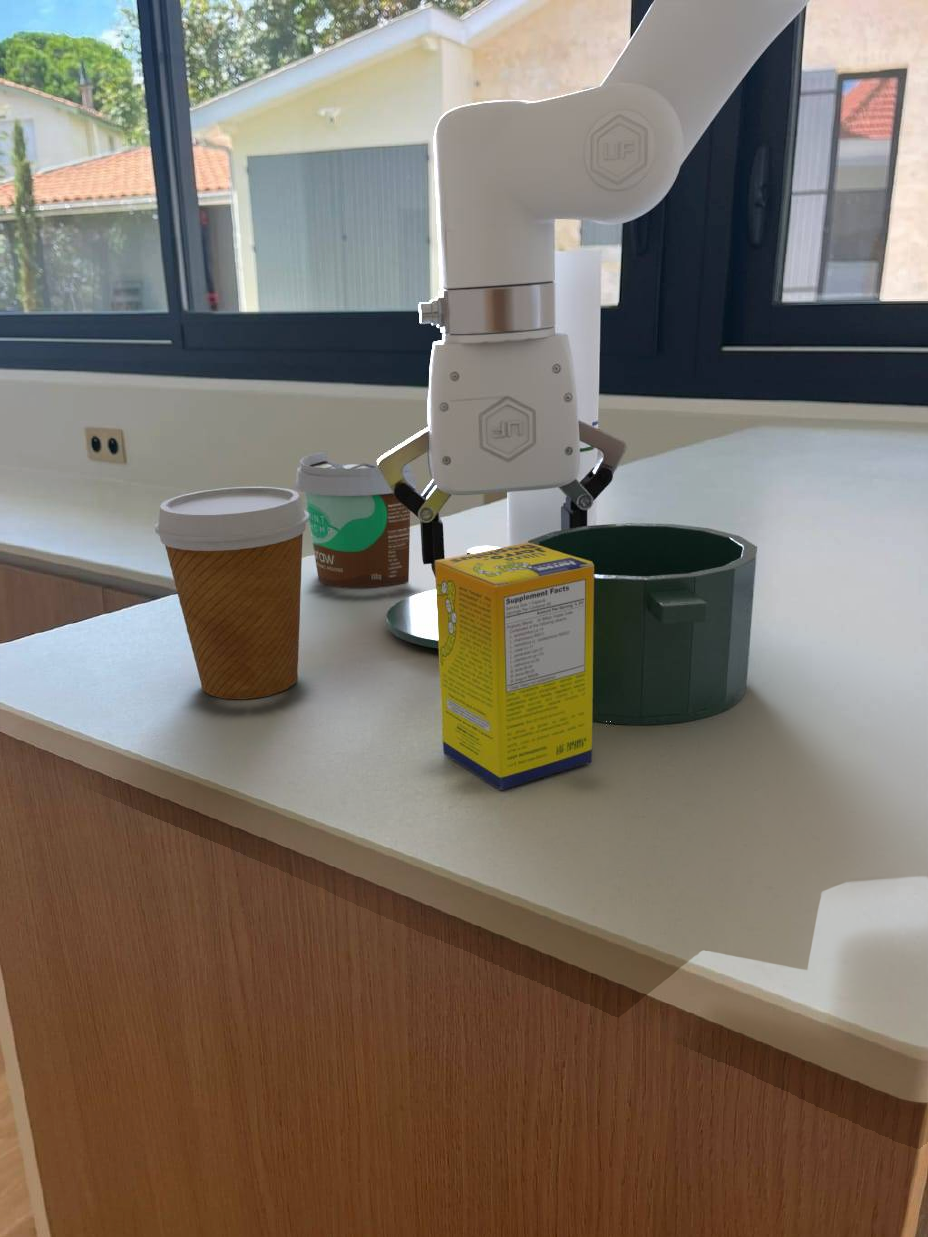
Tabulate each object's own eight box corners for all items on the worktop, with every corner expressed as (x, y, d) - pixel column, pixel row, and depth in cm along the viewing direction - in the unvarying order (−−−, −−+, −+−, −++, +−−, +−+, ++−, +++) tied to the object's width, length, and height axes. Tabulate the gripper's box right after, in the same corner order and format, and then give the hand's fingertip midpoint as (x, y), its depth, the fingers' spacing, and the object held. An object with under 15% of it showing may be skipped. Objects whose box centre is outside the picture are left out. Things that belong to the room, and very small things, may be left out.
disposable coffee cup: (352, 677, 72) (339, 494, 68) (236, 721, 66) (213, 523, 62) (261, 649, 79) (244, 479, 74) (148, 687, 73) (121, 505, 68)
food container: (275, 575, 98) (264, 461, 94) (330, 561, 101) (322, 450, 97) (363, 601, 89) (355, 475, 85) (420, 584, 92) (415, 463, 89)
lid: (561, 592, 88) (561, 521, 86) (612, 650, 75) (614, 567, 73) (378, 606, 87) (374, 535, 85) (397, 667, 74) (393, 584, 72)
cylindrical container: (604, 570, 94) (612, 248, 84) (581, 593, 88) (587, 249, 78) (523, 565, 96) (522, 253, 87) (496, 587, 90) (491, 255, 81)
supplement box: (528, 728, 63) (527, 539, 59) (594, 765, 58) (598, 561, 54) (438, 753, 61) (431, 557, 56) (500, 793, 56) (496, 582, 51)
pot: (691, 629, 78) (697, 508, 75) (801, 734, 60) (816, 582, 57) (499, 642, 77) (497, 522, 74) (554, 752, 60) (554, 601, 57)
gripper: (370, 328, 70) (388, 591, 76) (642, 308, 70) (636, 571, 77) (365, 323, 77) (382, 564, 83) (612, 304, 77) (609, 546, 84)
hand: (504, 567), depth 80 cm, fingers open, 9 cm apart
